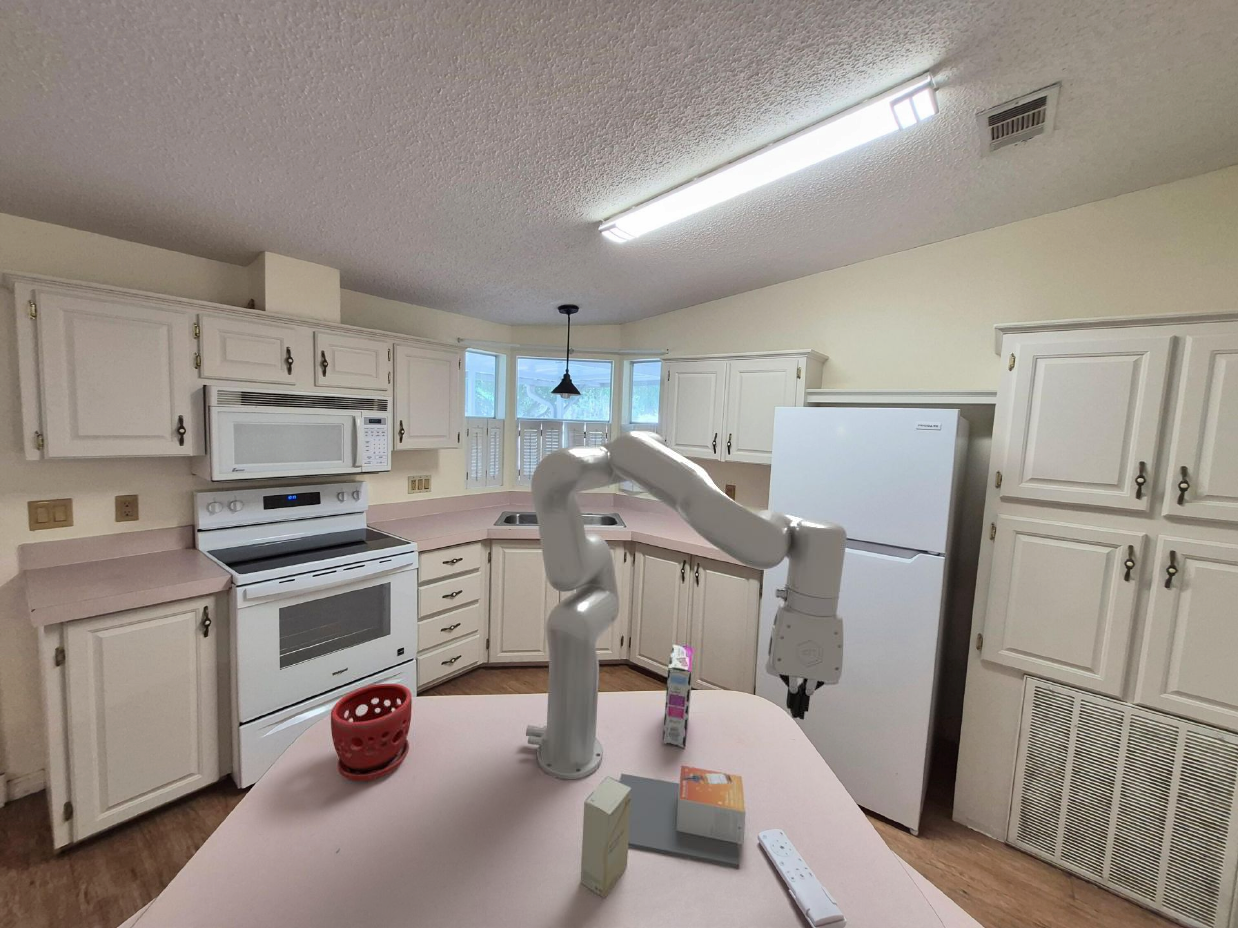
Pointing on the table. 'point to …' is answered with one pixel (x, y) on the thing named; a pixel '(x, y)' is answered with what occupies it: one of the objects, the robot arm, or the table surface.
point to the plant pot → (371, 731)
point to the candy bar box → (678, 696)
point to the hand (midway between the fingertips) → (796, 713)
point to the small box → (711, 804)
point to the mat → (669, 824)
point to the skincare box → (605, 835)
